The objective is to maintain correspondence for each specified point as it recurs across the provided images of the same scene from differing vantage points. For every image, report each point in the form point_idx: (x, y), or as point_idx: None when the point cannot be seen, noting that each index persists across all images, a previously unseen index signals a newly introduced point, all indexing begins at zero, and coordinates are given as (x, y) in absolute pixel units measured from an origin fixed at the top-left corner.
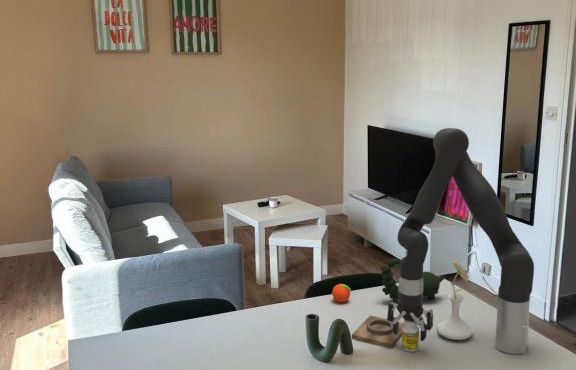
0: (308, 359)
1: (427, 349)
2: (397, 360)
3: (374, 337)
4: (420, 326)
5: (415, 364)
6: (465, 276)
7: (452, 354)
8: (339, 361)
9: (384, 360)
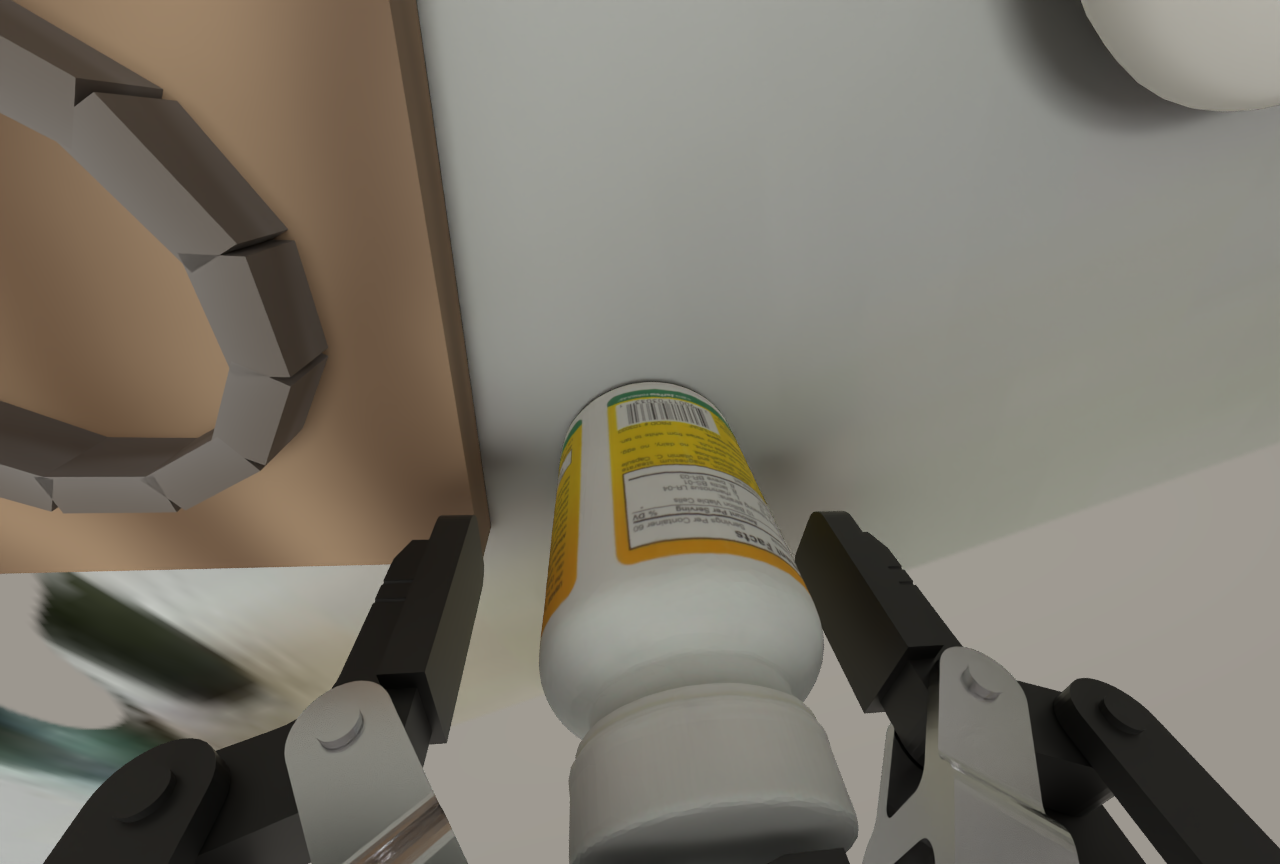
0: None
1: (816, 408)
2: None
3: (223, 525)
4: (901, 802)
5: None
6: None
7: (1050, 397)
8: None
9: (522, 660)
